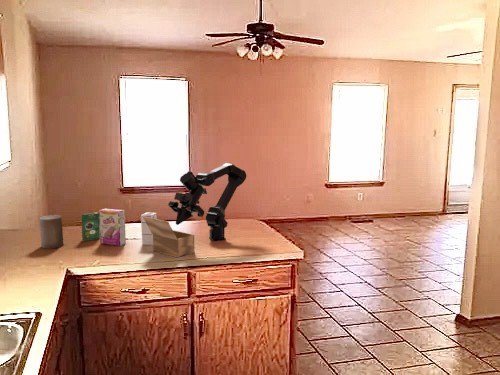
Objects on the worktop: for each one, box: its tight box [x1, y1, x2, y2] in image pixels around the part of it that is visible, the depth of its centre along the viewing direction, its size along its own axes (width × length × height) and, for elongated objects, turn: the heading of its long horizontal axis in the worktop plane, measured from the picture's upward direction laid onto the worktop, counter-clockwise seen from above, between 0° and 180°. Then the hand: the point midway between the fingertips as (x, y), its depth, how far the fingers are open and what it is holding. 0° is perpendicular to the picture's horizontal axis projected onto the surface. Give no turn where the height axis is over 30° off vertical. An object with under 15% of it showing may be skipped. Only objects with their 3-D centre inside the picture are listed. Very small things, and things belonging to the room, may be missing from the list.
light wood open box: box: [152, 229, 196, 258], centre depth 219 cm, size 10×16×8 cm, turn 51°
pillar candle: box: [39, 213, 64, 249], centre depth 227 cm, size 10×10×15 cm
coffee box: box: [81, 211, 100, 242], centre depth 239 cm, size 8×3×13 cm, turn 129°
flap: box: [143, 216, 177, 240], centre depth 212 cm, size 10×16×1 cm
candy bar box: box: [98, 208, 127, 247], centre depth 230 cm, size 11×5×16 cm, turn 71°
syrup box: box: [140, 211, 158, 246], centre depth 232 cm, size 6×6×14 cm
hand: (176, 224), depth 219 cm, fingers closed
